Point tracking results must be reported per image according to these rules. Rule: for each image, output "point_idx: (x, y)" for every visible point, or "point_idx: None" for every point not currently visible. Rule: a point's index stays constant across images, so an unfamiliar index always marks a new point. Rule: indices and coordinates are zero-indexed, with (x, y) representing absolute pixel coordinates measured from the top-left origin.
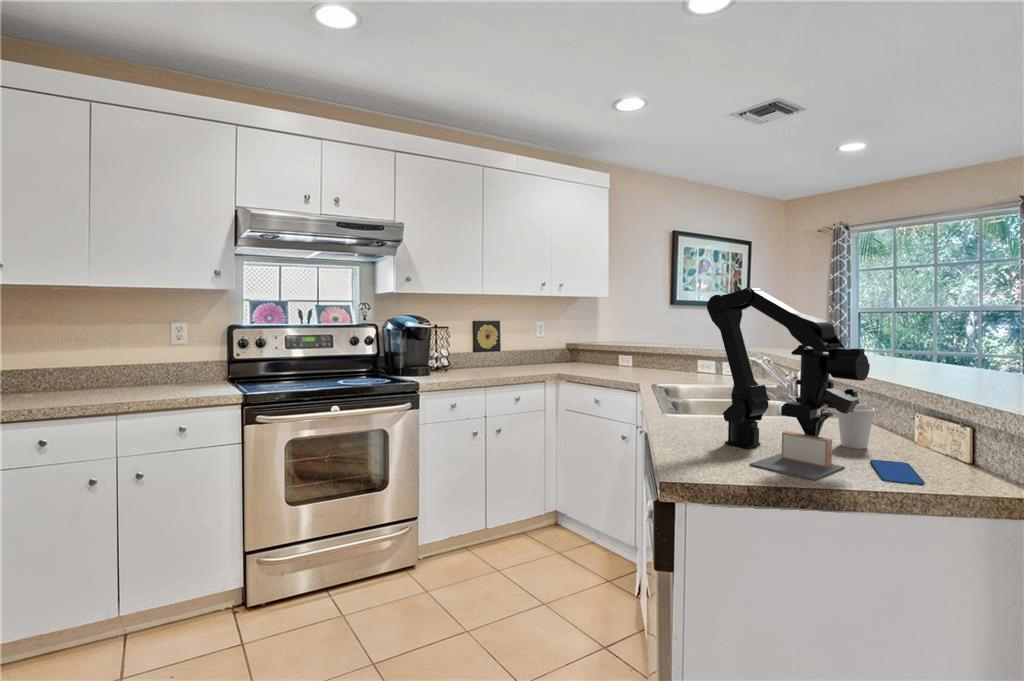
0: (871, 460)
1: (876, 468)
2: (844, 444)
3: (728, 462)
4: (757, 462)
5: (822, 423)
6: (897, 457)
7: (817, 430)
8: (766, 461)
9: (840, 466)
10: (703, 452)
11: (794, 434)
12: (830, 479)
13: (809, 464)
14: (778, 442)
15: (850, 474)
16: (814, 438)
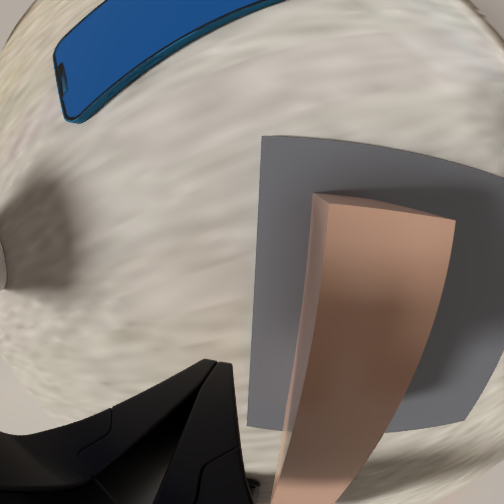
0: (76, 115)
1: (178, 37)
2: (2, 277)
3: (448, 449)
4: (443, 419)
5: (61, 442)
6: (7, 125)
7: (185, 437)
8: (417, 414)
9: (275, 154)
10: (375, 500)
11: (344, 486)
12: (493, 145)
13: None
14: None
15: (356, 84)
16: (408, 377)
